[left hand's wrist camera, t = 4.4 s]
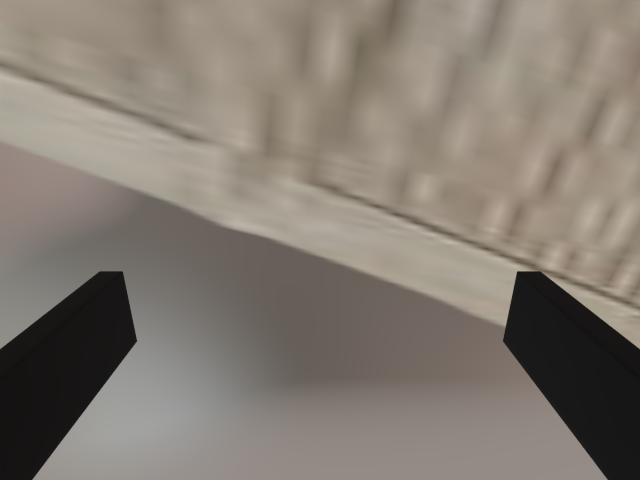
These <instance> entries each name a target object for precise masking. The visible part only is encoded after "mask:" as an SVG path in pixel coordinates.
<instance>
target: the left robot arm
mask: <svg viewBox="0 0 640 480" xmlns="http://www.w3.org/2000/svg"><path fill="white" fill-rule="evenodd" d="M136 342H137V339H136V334H135V329H134V324H133V319H132V314H131V310H130V304H129V300H128V295H127V290H126V285H125V280H124V275H123V272H122V271H121V272H119V271H117V272H116V271H109V272H108V271H105V272H104V271H102V272H98V273H97V274H96V275H95V276H93V277H92V278H91V279H89V280H88V281H87V282H86V283H84V284H83V285H82V286H81V287H79V288H78V289H77V290H75V291H74V292H73V293H72V294H70V295H69V296H68V297H66V298H65V299H64V300H63V301H61V302H60V303H59V304H57V305H56V306H55V307H54V308H52V309H51V310H50V311H49V312H47V313H46V314H45V315H43V316H42V317H41V318H40V319H38V320H37V321H36V322H34V323H33V324H32V325H31V326H29V327H28V328H27V329H26V330H24V331H23V332H22V333H20V334H19V335H18V336H17V337H15V338H14V339H13V340H12V341H10V342H9V343H8V344H6V345H5V346H4V347H2V348H1V349H0V480H32V479H33V478H34V477H35V475H36V474H37V473H38V471H39V470H40V469H41V467H42V466H43V465H44V463H45V462H46V461H47V459H48V458H49V457H50V456H51V454H52V453H53V451H54V450H55V449H56V448H57V446H58V445H59V444H60V442H61V441H62V440H63V438H64V437H65V436H66V434H67V433H68V432H69V430H70V429H71V428H72V426H73V425H74V424H75V422H76V421H77V420H78V418H79V417H80V416H81V415H82V413H83V412H84V410H85V409H86V408H87V407H88V405H89V404H90V403H91V401H92V400H93V399H94V397H95V396H96V395H97V393H98V392H99V391H100V389H101V388H102V387H103V385H104V384H105V383H106V381H107V380H108V379H109V378H110V376H111V375H112V373H113V372H114V371H115V370H116V368H117V367H118V365H119V364H120V363H121V362H122V360H123V359H124V358H125V356H126V355H127V354H128V352H129V351H130V350H131V348H132V347H133V346H134V344H135V343H136ZM503 342H504V343H505V344H506V346H507V347H508V348H509V350H510V351H511V352H512V354H513V355H514V356H515V358H516V359H517V360H518V362H519V363H520V364H521V366H522V367H523V368H524V370H525V371H526V372H527V373H528V375H529V376H530V378H531V379H532V380H533V382H534V383H535V384H536V385H537V387H538V388H539V389H540V391H541V392H542V393H543V395H544V396H545V397H546V399H547V400H548V401H549V403H550V404H551V405H552V407H553V408H554V409H555V411H556V412H557V413H558V415H559V416H560V417H561V419H562V420H563V421H564V422H565V424H566V425H567V426H568V428H569V429H570V430H571V432H572V433H573V434H574V436H575V437H576V438H577V440H578V441H579V442H580V443H581V445H582V446H583V448H584V449H585V450H586V452H587V453H588V454H589V455H590V457H591V458H592V459H593V461H594V462H595V463H596V465H597V466H598V467H599V469H600V470H601V471H602V473H603V474H604V475H605V477H606V478H607V479H608V480H640V349H639V348H638V347H636V346H635V345H634V344H632V343H631V342H630V341H629V340H627V339H626V338H625V337H623V336H622V335H621V334H620V333H618V332H617V331H616V330H615V329H613V328H612V327H611V326H609V325H608V324H607V323H606V322H604V321H603V320H602V319H600V318H599V317H598V316H597V315H595V314H594V313H593V312H591V311H590V310H589V309H588V308H586V307H585V306H584V305H583V304H581V303H580V302H579V301H577V300H576V299H575V298H574V297H572V296H571V295H570V294H568V293H567V292H566V291H565V290H563V289H562V288H561V287H559V286H558V285H557V284H556V283H554V282H553V281H552V280H551V279H549V278H548V277H547V276H545V275H544V274H543V273H542V272H540V271H517V275H516V280H515V285H514V290H513V295H512V300H511V304H510V309H509V314H508V319H507V324H506V329H505V334H504V339H503Z"/></svg>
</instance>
